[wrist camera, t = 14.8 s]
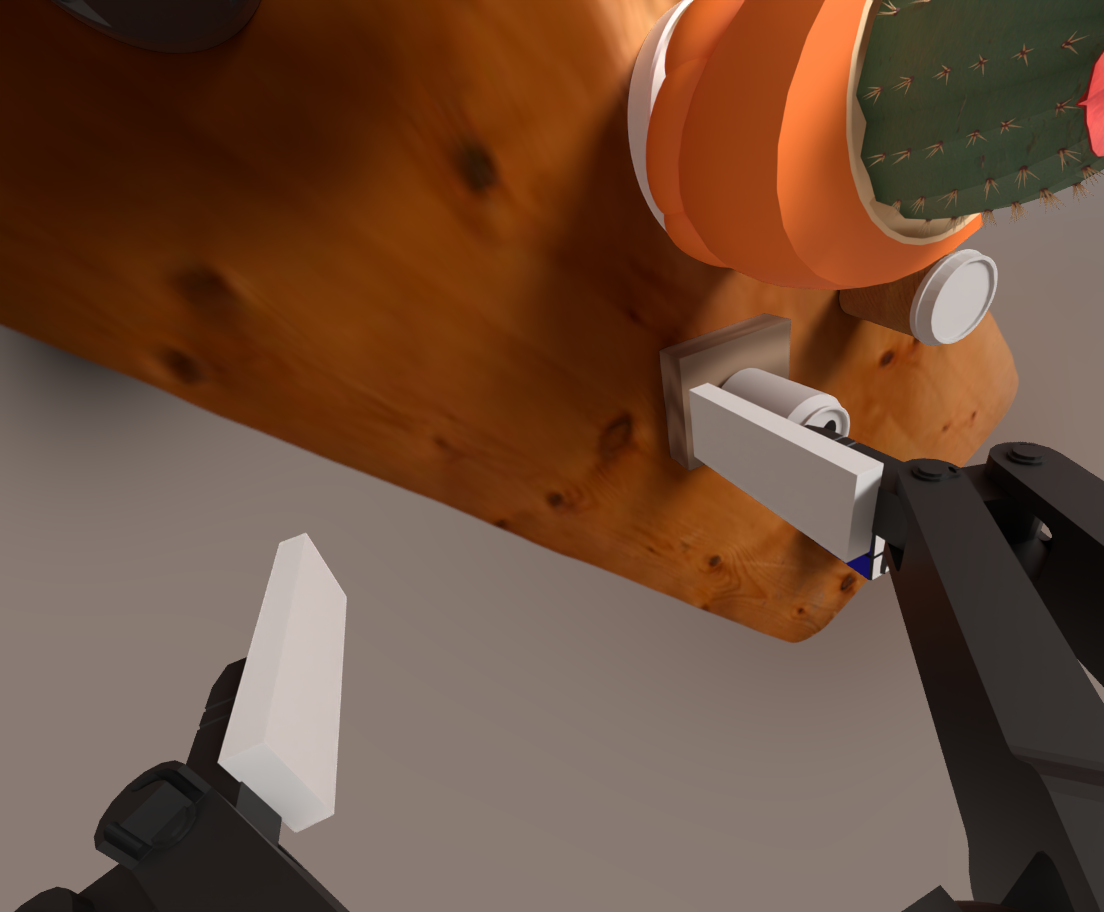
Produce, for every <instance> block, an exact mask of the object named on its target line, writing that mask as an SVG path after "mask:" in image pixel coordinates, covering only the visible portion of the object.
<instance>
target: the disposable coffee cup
mask: <svg viewBox="0 0 1104 912" xmlns="http://www.w3.org/2000/svg"><path fill="white" fill-rule="evenodd" d="M997 277H998V273H997V267H996V265H995V262H994V261H993V260H992V259H991V258H990V257H987V256H984V255H982V254H981V253H979V252H978V251H976V250H972V249H968V250H962V251H959V252H956V253H952V254H950V255H944V256H943V257H941V258H940V259H938V260H936V261H935V262H933V263H932V264H930V265H928V266H927V267H925V268H924V269H922V270H919V271H917V272H915V273H912V274H910V275H908V276H905V277H903V278H900V279H898V280H896V281H893V282H889V283H883V284H878V285H873V286H868V287H861V288H851V289H841V290H840V294H839V302H840V306H841V308H842V310H843V311H844V312H845V313H847V314H849V315H852V316H855V317H858V318H861V319H864V320H867V321H870V322H873V323H876V324H879V325H882V326H884V327H887V328H890V329H893V330H896V331H899V332H902V333H905V334H908V335H911V336H914V337H916V338H917V339H918V340H919V341H920V342H922V343H924V344H926V345H929V346H937V345H941V344H950V343H954V342H957V341H959V340H960V339H962V338H964V337H965V336H966V335H968V334H969V333H970V332H971V331H972V330H973V329H974V328H975V327H976V326H977V325H978V324H979V322H980V321H981V320H982V318H983V317H984V315H985V313H986V311H987V310H988V308H989V306H990V304H991V302H992V300H993V297H994V294H995V291H996V286H997Z"/></svg>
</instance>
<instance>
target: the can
mask: <svg viewBox="0 0 1104 912" xmlns="http://www.w3.org/2000/svg"><path fill="white" fill-rule="evenodd" d="M721 389H722V390H725V391H727V392H729V393H731V394H733V395H735V396H738V397H740V398H742V399H744V400H746V401H748V402H751V403H753V404H755V405H757V406H759V407H762V408H764V409H766V410H768V411H770V412H772V413H775V414H777V415H779V416H781V417H783V418H786V419H788V420H790V421H792V422H794V423H796V424H799V425H801V426H805V425H812V426H818V427H823V428H827V429H829V430H832V431H834V432H836V433H839V434H841V435H843V437H847V436H848V433H849V428H850V420H849V415H848V413H847V412H846V410H845V409H844V408H842V407H841V405H840V404H839V402H838V401H837V399H836V398H834V397H832V396H831V395H829V394H826V393H823V392H821V391H818V390H815V389H812V388H810V387H807V386H804V385H801V384H799V383H796V382H793V381H790V380H788V379H785V378H782V377H779V376H777V375H774V374H771V373H768V372H766V371H763V370H760V369H757V368H747V369H744V370H741V371H738V372H737V373H736V374H734V375H733V376H731V377H730V378H729V379H728V380H727V381H726V383H725V384H724V385H723V386H722V388H721Z"/></svg>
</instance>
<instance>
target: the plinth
mask: <svg viewBox="0 0 1104 912" xmlns="http://www.w3.org/2000/svg"><path fill="white" fill-rule="evenodd" d="M790 330H791V319H788V318H783V317H779V316H774V315H770V314H765V313H764V314H761V315H759V316H756V317H753V318H750V319H747V320H744V321H741V322H739V323H736V324H733V325H730V326H727V327H724V328H721V329H719V330H716V331H713V332H710V333H707V334H704V335H701V336H699V337H696V338H693V339H690V340H687V341H684V342H681V343H679V344H676V345H673V346H670V347H667V348H664V349H661V350H659V355H660V364H661V373H662V382H663V391H664V401H665V410H666V419H667V428H668V437H669V447H670V456H671V457H672V458H673V459H674V460H675V461H677V462H678V463H679V464H681V465H682V466H683V467H685V468H686V469H687V470H689V471H690V470H693V469H695V468H697V467H700V466H702V465H705V463H703V462H702V461H700V460H699V459H697V458H696V457H695V456H694V447H693V434H692V421H691V409H690V396H689V390H690V389H693V388H695V387H698V386H701V385H703V384H706V383H709V384H711V385H714V386H716V387H718V388H720V389H721V388H722V386H723V385H724V384H725V383H726V381H727V380H728V379H729V378H730V377H731V376H733V375H734V374H736V373H737V372H738V371H741V370H744V369H747V368H757V369H760V370H763V371H766V372H768V373H771V374H774V375H777V376H779V377H782V378H785V379H788V380H789V357H790Z"/></svg>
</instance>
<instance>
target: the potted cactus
mask: <svg viewBox="0 0 1104 912" xmlns="http://www.w3.org/2000/svg"><path fill="white" fill-rule="evenodd" d="M628 136H629V145H630V151H631V157H632V162H633V166H634V170H635V174H636V177H637V180H638V183H639V186H640V188H641V191H642V193H643V196H644V198H645V200H646V202H647V204H648V206H649V208H650V210H651V211H652V213H653V215H654V216H655V218H656V219H657V221H658V222H659V223H660V225H661V226H662V227H663V228H664V230H665V231H666V232H667V233H668V235H669V237H670V238H671V239H672V241H673V242H674V244H675V245H676V246H677V247H678V248H679V249H680V250H682V251H683V252H684V253H686V254H687V255H689V256H691V257H693V258H695V259H697V260H699V261H701V262H704V263H706V264H709V265H713V266H718V267H726V268H732V269H734V270H736V271H738V272H740V273H743V274H745V275H747V276H750V277H752V278H755V279H757V280H759V281H762V282H766V283H770V284H774V285H778V286H782V287H792V288H805V289H822V290H841V289H851V288H861V287H868V286H873V285H878V284H883V283H889V282H893V281H896V280H898V279H900V278H903V277H905V276H908V275H910V274H912V273H915V272H917V271H919V270H922V269H924V268H925V267H927V266H928V265H930V264H932V263H933V262H935V261H936V260H938V259H940V258H941V257H943V256H944V255H946V254H947V253H949V252H951V251H952V250H954V249H955V248H956V247H957V246H958V245H960V244H961V243H962V242H963V241H965V240H966V239H967V238H968V237H969V236H970V235H972V234H973V233H974V232H975V231H976V230H978V229H979V228H980V227H981V226H983V223H984V222H982V220H983V217H984V214H985V212H986V215H985V218H984V221H985V224H986V221H987V216H988V213H989V219H990V222H991V219H992V221H994V222H995V220H994V217H993V214H992V211H993V210H994V209H999V208H1004V207H1009V206H1012V215H1013V212H1014V216H1016V207H1017V212H1018V217H1019V214H1022V213H1023V211H1022V209H1023V207H1022V206H1021V204H1022V203H1026V202H1029V201H1032V200H1035V199H1039V198H1040V203H1041V198H1042V197H1043V199H1044V202H1045V198H1046V203H1045V206H1047V200H1048V201H1049V203H1050V202H1051V201H1052V202H1053V203H1054V201H1053V199H1055V200H1056V201H1058V202H1060V201H1059V200H1058V199H1057V197H1055V196H1054V195H1053V193H1055V192H1058V191H1060V190H1062V189H1065V188H1067V187H1070V186H1073V197H1074V194H1075V192H1076V195H1077V197H1078V194H1077V189H1076V186H1077V187H1078V189H1079V191H1080V193H1081V194H1082V192H1083V190H1082V188H1083V189H1085V188H1084V187H1083V186H1082V185H1081V184H1080V183H1081V181H1083V180H1086V179H1087V178H1089V180H1090V181H1091V179H1090V176H1092V177H1093V178H1094V179H1095V177H1094V176H1093V175H1094V174H1097V173H1101V172H1100V171H1101V170H1103V169H1104V0H682V1H680V2H679V3H678V4H676V5H675V6H674V7H672V8H671V9H669V10H668V11H667V12H666V13H665V14H664V15H663V16H662V17H661V18H660V19H659V20H658V21H657V22H656V23H655V25H654V26H653V27H652V29H651V30H650V32H649V33H648V35H647V37H646V39H645V41H644V43H643V45H642V47H641V49H640V52H639V54H638V57H637V60H636V63H635V66H634V70H633V74H632V79H631V84H630V90H629V99H628ZM1101 174H1103V173H1101ZM1097 175H1098V174H1097ZM1095 180H1096V179H1095ZM1096 181H1097V180H1096ZM1091 182H1092V181H1091ZM1086 184H1087V181H1086ZM1092 184H1093V183H1092ZM1081 187H1082V188H1081ZM1080 189H1081V190H1080ZM1085 190H1086V189H1085ZM1081 191H1082V192H1081ZM1086 191H1087V190H1086ZM1088 192H1089V191H1088ZM1083 193H1084V192H1083ZM1089 193H1090V192H1089ZM1084 195H1085V194H1084ZM1082 196H1083V195H1082ZM1051 197H1052V198H1053V199H1052V198H1051ZM1078 200H1079V199H1078ZM1052 202H1051V203H1052ZM1051 203H1050V207H1051ZM1060 203H1061V202H1060ZM1054 204H1055V203H1054ZM1055 205H1056V204H1055ZM1056 207H1057V206H1056ZM1021 208H1022V209H1021ZM1023 210H1024V209H1023ZM1024 211H1025V212H1026V210H1024ZM981 212H984V213H983V216H982V217H981ZM1021 212H1022V213H1021ZM1012 215H1011V218H1012ZM1023 215H1024V213H1023ZM1024 216H1025V215H1024ZM1014 218H1015V217H1014ZM1016 219H1017V218H1016ZM994 222H993V223H994ZM995 224H996V223H995ZM985 226H986V225H985Z"/></svg>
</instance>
